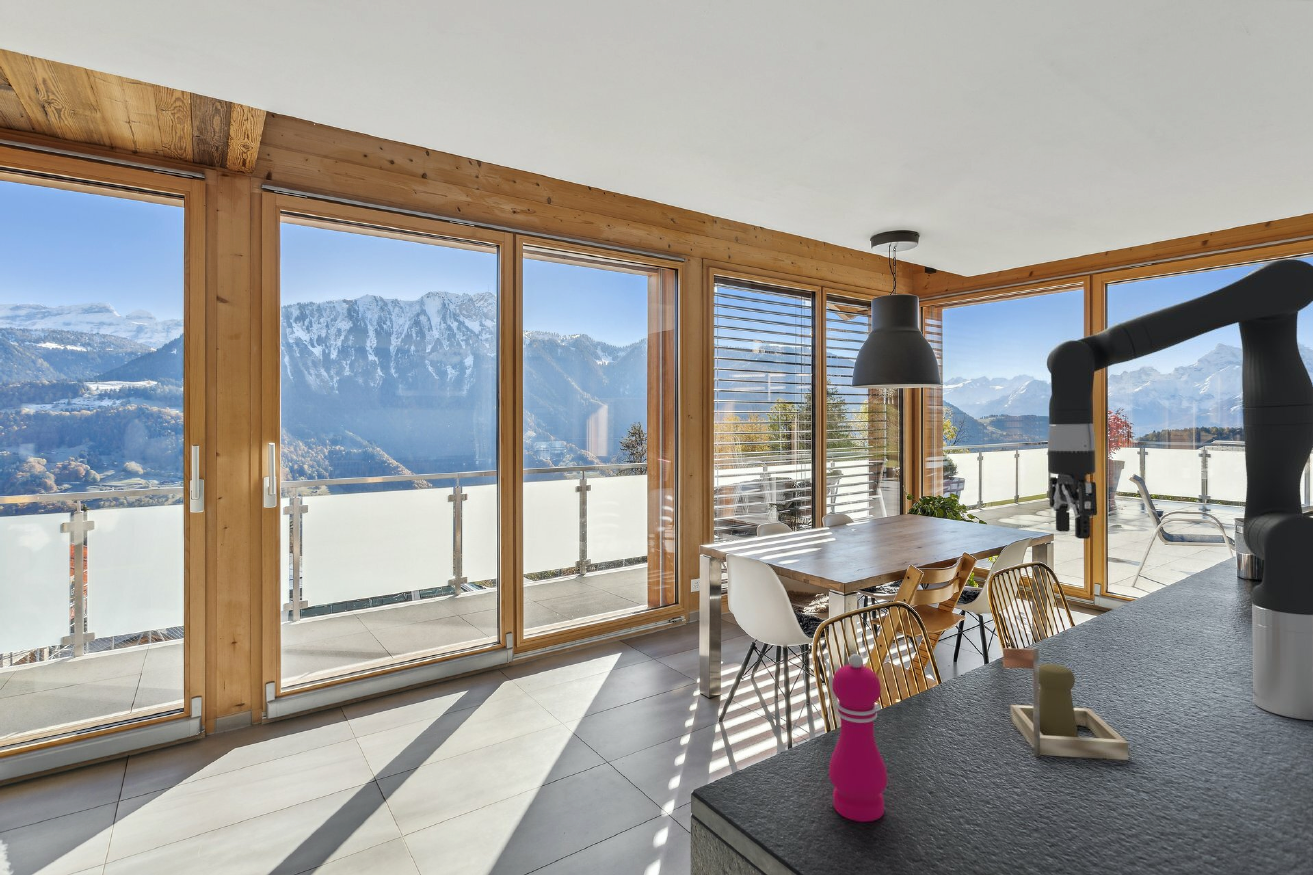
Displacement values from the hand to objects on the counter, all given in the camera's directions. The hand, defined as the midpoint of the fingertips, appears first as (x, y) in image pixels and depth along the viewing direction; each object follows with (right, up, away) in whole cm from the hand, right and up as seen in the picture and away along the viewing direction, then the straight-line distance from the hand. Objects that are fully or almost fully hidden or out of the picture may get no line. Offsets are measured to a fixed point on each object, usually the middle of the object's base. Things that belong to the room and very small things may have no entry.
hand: (1072, 534), depth 125 cm
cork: (-15, -29, -20) cm, 39 cm away
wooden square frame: (-17, -29, -21) cm, 40 cm away
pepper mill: (-52, -30, -39) cm, 72 cm away
